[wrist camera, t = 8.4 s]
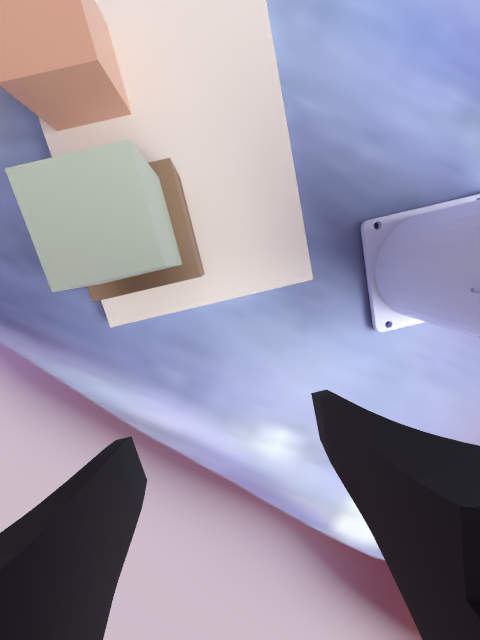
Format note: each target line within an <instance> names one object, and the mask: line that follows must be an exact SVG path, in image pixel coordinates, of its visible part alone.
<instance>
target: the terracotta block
mask: <svg viewBox="0 0 480 640" xmlns="http://www.w3.org/2000/svg"><path fill="white" fill-rule="evenodd" d="M0 87H1V88H3V89H4V90H5V91H7V92H8V93H9V94H10V95H12V96H13V97H14V98H16V99H17V100H18V101H19V102H21V103H22V104H23V105H24V106H26V107H27V108H28V109H30V110H31V111H32V112H33V113H35V114H36V115H37V116H39V117H40V118H41V119H42V120H44V121H45V122H46V123H47V124H49V125H50V126H51V127H53V128H54V129H55V130H56V131H61V130H66V129H70V128H75V127H79V126H83V125H88V124H92V123H96V122H101V121H105V120H109V119H114V118H118V117H122V116H127V115H131V114H132V113H131V109H130V106H129V102H128V98H127V95H126V91H125V87H124V84H123V80H122V77H121V73H120V69H119V66H118V62H117V59H116V55H115V51H114V48H113V44H112V41H111V37H110V33H109V30H108V26H107V23H106V21H105V19H104V17H103V15H102V13H101V11H100V9H99V7H98V5H97V3H96V1H95V0H0Z"/></svg>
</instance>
